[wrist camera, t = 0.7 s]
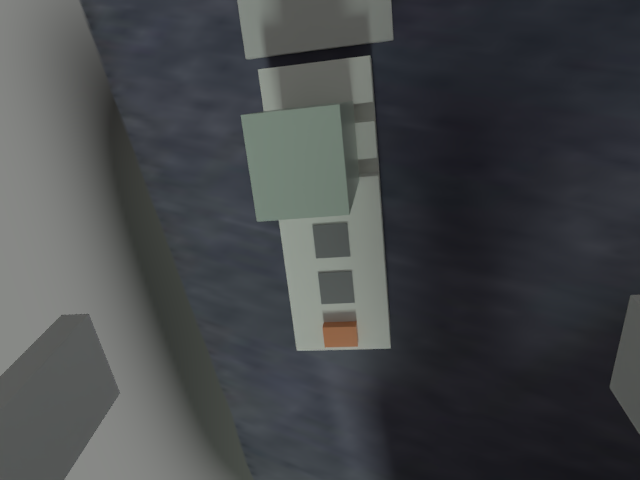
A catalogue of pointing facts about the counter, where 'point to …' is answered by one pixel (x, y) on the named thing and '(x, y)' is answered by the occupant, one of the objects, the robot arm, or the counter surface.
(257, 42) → the mat
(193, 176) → the counter surface
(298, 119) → the block
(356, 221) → the power strip
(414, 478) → the counter surface
